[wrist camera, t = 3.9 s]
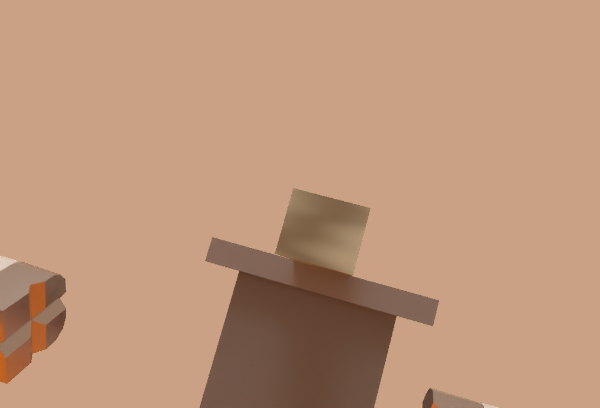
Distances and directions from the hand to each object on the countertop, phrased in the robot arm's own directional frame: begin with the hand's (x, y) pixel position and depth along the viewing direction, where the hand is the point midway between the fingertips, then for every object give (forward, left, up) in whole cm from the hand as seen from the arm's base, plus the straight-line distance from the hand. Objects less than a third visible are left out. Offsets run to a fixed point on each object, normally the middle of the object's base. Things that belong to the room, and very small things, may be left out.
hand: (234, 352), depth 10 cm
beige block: (0, -20, +2) cm, 20 cm away
